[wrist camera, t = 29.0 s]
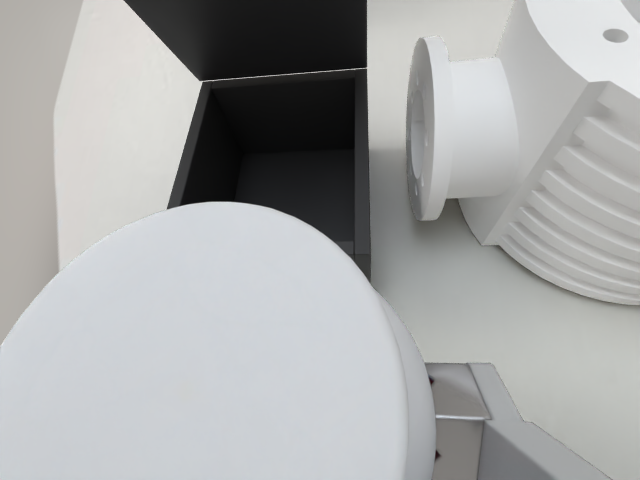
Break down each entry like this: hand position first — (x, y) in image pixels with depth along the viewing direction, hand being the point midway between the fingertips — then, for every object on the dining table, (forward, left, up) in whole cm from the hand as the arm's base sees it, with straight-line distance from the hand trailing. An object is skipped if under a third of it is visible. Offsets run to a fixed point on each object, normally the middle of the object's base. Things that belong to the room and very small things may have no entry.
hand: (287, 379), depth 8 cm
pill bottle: (0, -1, -6) cm, 6 cm away
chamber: (-4, +13, -15) cm, 20 cm away
